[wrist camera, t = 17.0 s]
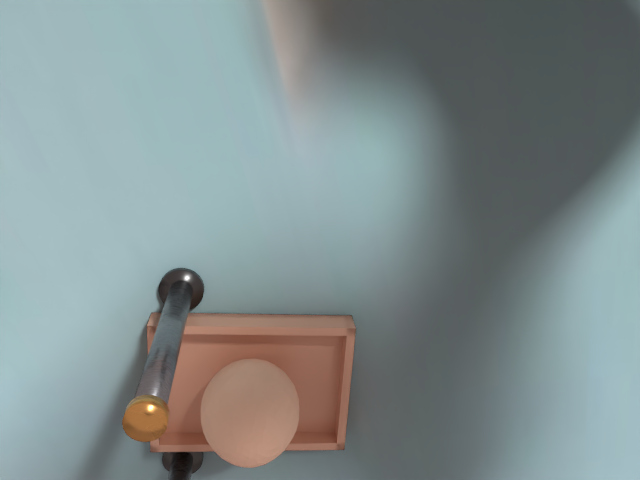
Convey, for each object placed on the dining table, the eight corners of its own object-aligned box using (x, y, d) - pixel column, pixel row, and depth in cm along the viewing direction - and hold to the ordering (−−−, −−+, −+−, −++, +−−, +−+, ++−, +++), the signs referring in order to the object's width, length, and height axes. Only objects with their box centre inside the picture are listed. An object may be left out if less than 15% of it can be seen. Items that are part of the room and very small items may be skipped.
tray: (351, 315, 44) (355, 328, 42) (340, 433, 47) (344, 449, 45) (151, 312, 42) (146, 325, 40) (154, 434, 45) (150, 452, 44)
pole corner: (204, 268, 41) (178, 395, 27) (203, 307, 42) (178, 450, 28) (159, 267, 41) (109, 395, 27) (160, 307, 42) (112, 451, 28)
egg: (311, 393, 45) (322, 466, 38) (233, 432, 45) (229, 511, 38) (269, 324, 43) (272, 386, 35) (187, 365, 43) (173, 435, 36)
